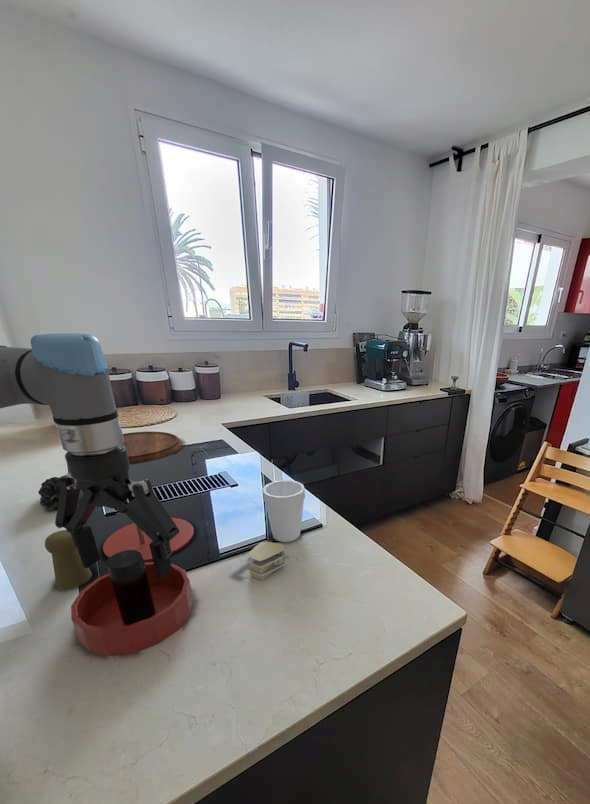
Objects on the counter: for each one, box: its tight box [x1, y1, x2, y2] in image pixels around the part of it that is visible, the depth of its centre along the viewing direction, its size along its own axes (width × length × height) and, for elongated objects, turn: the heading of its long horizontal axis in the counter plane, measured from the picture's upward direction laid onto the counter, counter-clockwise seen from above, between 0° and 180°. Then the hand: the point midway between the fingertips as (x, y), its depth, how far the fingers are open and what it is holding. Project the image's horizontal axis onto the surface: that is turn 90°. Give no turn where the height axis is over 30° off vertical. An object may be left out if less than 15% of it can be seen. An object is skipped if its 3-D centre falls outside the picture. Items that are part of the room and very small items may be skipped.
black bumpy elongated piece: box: [37, 475, 63, 511], centre depth 106 cm, size 9×8×15 cm
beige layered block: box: [245, 541, 286, 581], centre depth 81 cm, size 10×9×6 cm
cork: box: [44, 529, 93, 590], centre depth 76 cm, size 6×6×11 cm
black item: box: [105, 550, 155, 625], centre depth 67 cm, size 5×5×12 cm
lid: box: [102, 517, 195, 563], centre depth 90 cm, size 19×19×9 cm
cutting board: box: [122, 431, 183, 464], centre depth 147 cm, size 32×32×2 cm
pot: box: [70, 561, 194, 657], centre depth 68 cm, size 18×18×6 cm
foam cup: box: [262, 479, 306, 543], centre depth 92 cm, size 10×9×13 cm
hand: (127, 568), depth 65 cm, fingers open, 13 cm apart
